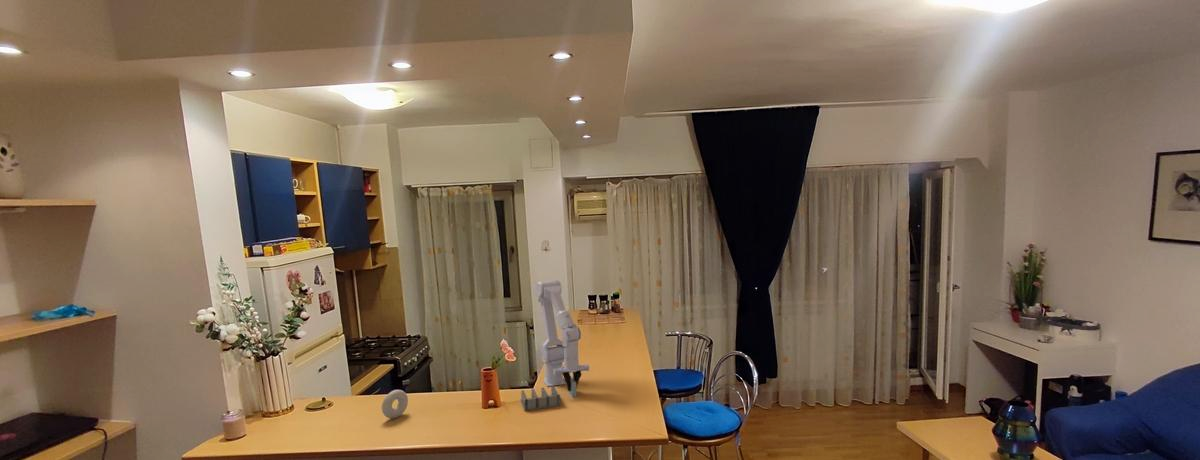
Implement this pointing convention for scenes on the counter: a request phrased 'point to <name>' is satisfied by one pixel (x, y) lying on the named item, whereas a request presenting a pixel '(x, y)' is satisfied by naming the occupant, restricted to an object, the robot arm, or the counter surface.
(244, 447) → the counter surface
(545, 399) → the rack
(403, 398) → the donut
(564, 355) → the robot arm
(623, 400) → the counter surface
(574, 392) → the plate
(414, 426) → the counter surface
